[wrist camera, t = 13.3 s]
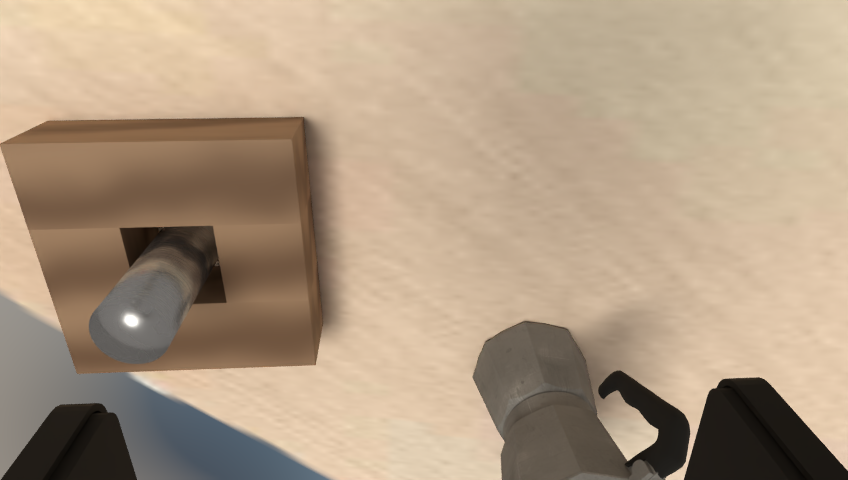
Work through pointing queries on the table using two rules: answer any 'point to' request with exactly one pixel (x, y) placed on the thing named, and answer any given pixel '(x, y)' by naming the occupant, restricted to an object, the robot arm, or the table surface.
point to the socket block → (169, 207)
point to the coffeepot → (567, 411)
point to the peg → (154, 295)
